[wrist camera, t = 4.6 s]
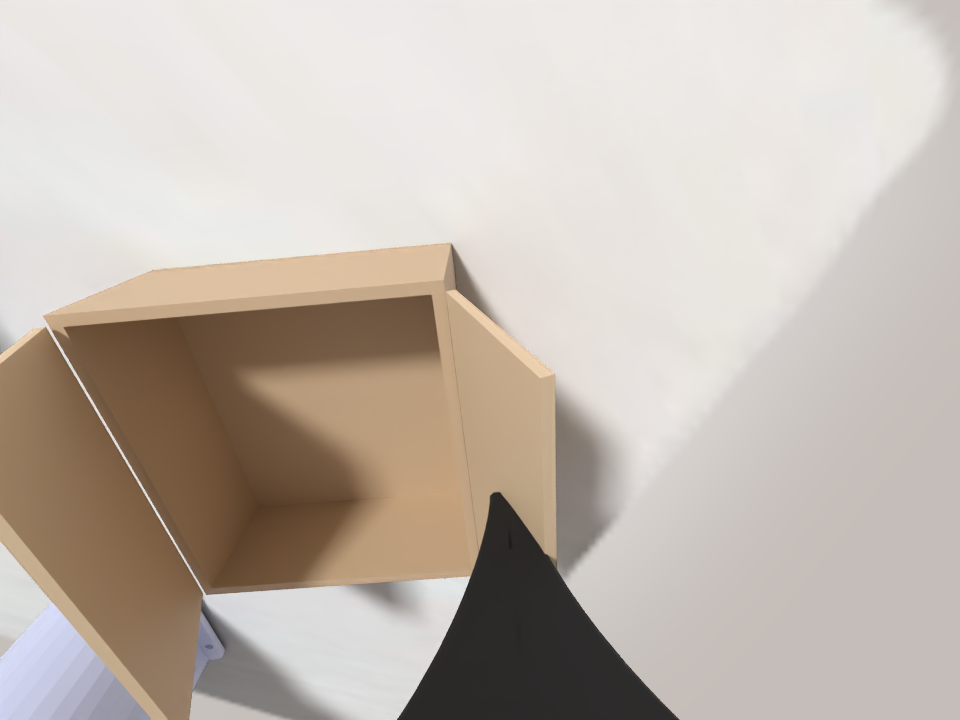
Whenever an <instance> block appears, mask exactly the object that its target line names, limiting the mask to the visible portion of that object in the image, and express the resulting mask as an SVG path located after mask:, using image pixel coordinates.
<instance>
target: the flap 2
mask: <svg viewBox="0 0 960 720" xmlns="http://www.w3.org/2000/svg"><path fill="white" fill-rule="evenodd" d="M446 298H447V306H448V314H449V321H450V329H451V337H452V345H453V353H454V360H455V368H456V376H457V384H458V392H459V400H460V407H461V415H462V423H463V431H464V439H465V446H466V454H467V462H468V470H469V478H470V486H471V493H472V501H473V509H474V517H475V525H476V533H477V540H478V548H479V550H480V546H481V543H482V539H483V536H484V532H485V527H486V523H487V518H488V512H489V504H490V495H491V494H492V493H493V492H500V493H501V494H502V495H503V497H504V498H505V499H506V500H507V501H508V503H509V504H510V505H511V506H512V508H513V509H514V510H515V512H516V513H517V514H518V516H519V517H520V519H521V520H522V521H523V523H524V524H525V526H526V527H527V528H528V530H529V531H530V533H531V534H532V535H533V537H534V538H535V540H536V541H537V543H538V544H539V545H540V547H541V548H542V550H543V552H544V553H545V554H547V555H548V556H549V557H550V559H551V561H552V563H553V564H554V566H555V568H556V569H557V545H556V428H555V374H554V373H553V372H552V371H551V370H549V369H548V368H547V367H546V366H545V365H544V364H542V363H541V362H540V361H539V360H538V359H537V358H535V357H534V356H533V355H532V354H531V353H529V352H528V351H527V350H526V349H525V348H524V347H522V346H521V345H520V344H519V343H518V342H517V341H515V340H514V339H513V338H512V337H511V336H510V335H508V334H507V333H506V332H505V331H504V330H502V329H501V328H500V327H499V326H498V325H497V324H495V323H494V322H493V321H492V320H491V319H490V318H488V317H487V316H486V315H485V314H484V313H482V312H481V311H480V310H479V309H478V308H477V307H475V306H474V305H473V304H472V303H471V302H470V301H468V300H467V299H466V298H465V297H464V296H462V295H461V294H460V293H459V292H458V291H457V290H451V291H446Z"/></svg>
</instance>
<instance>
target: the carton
mask: <svg viewBox="0 0 960 720" xmlns="http://www.w3.org/2000/svg"><path fill="white" fill-rule="evenodd" d="M451 290H457V289H456V280H455V272H454V263H453V254H452V246H451V243H446V244H435V245H424V246H413V247H402V248H391V249H380V250H369V251H358V252H347V253H336V254H325V255H314V256H304V257H293V258H282V259H271V260H260V261H249V262H238V263H227V264H216V265H205V266H194V267H183V268H172V269H161V270H153V271H150V272H148V273H145V274H143V275H140V276H138V277H136V278H133V279H131V280H128V281H126V282H124V283H121V284H119V285H116V286H114V287H111V288H109V289H107V290H104V291H102V292H99V293H97V294H94V295H92V296H90V297H87V298H85V299H82V300H80V301H77V302H75V303H73V304H70V305H68V306H65V307H63V308H61V309H58V310H56V311H53V312H51V313H48V314H46V315H44V316H43V317H44V318H45V320H46V322H47V324H48V325H49V327H50V329H51V330H52V332H53V334H54V335H55V337H56V339H57V341H58V342H59V344H60V346H61V347H62V349H63V351H64V353H65V354H66V356H67V358H68V359H69V361H70V363H71V364H72V366H73V368H74V370H75V371H76V373H77V375H78V376H79V378H80V380H81V382H82V383H83V385H84V387H85V388H86V390H87V392H88V394H89V395H90V397H91V399H92V400H93V402H94V404H95V405H96V407H97V409H98V411H99V412H100V414H101V416H102V417H103V419H104V421H105V423H106V424H107V426H108V428H109V429H110V431H111V433H112V435H113V436H114V438H115V440H116V441H117V443H118V445H119V446H120V448H121V450H122V452H123V453H124V455H125V457H126V458H127V460H128V462H129V464H130V465H131V467H132V469H133V470H134V472H135V474H136V475H137V477H138V479H139V481H140V482H141V484H142V486H143V487H144V489H145V491H146V493H147V494H148V496H149V498H150V499H151V501H152V503H153V505H154V506H155V508H156V510H157V511H158V513H159V515H160V516H161V518H162V520H163V522H164V523H165V525H166V527H167V528H168V530H169V532H170V534H171V535H172V537H173V539H174V540H175V542H176V544H177V546H178V547H179V549H180V551H181V552H182V554H183V556H184V557H185V559H186V561H187V563H188V564H189V566H190V568H191V569H192V571H193V573H194V575H195V576H196V578H197V580H198V581H199V583H200V585H201V586H202V588H203V590H204V592H205V593H206V595H210V594H225V593H239V592H253V591H267V590H281V589H295V588H310V587H324V586H338V585H352V584H366V583H380V582H395V581H409V580H423V579H437V578H451V577H465V576H471V574H472V571H473V569H474V566H475V563H476V560H477V557H478V553H479V548H478V540H477V533H476V525H475V517H474V509H473V501H472V493H471V486H470V478H469V470H468V462H467V454H466V446H465V439H464V431H463V423H462V415H461V407H460V400H459V392H458V384H457V376H456V368H455V360H454V353H453V345H452V337H451V329H450V321H449V314H448V306H447V298H446V291H451Z"/></svg>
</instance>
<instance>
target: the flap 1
mask: <svg viewBox="0 0 960 720" xmlns="http://www.w3.org/2000/svg"><path fill="white" fill-rule="evenodd" d="M0 541H1V542H2V544H3V545H4V546H5V547H6V548H7V549H8V551H9V552H10V553H11V554H12V555H13V557H14V558H15V559H16V560H17V561H18V562H19V564H20V565H21V566H22V567H23V568H24V570H25V571H26V572H27V573H28V574H29V575H30V577H31V578H32V579H33V580H34V581H35V582H36V584H37V585H38V586H39V587H40V588H41V590H42V591H43V592H44V593H45V594H46V595H47V597H48V598H49V599H50V600H51V601H52V602H53V604H54V605H55V606H56V607H57V608H58V610H59V611H60V612H61V613H62V614H63V615H64V617H65V618H66V619H67V620H68V621H69V622H70V624H71V625H72V626H73V627H74V628H75V630H76V631H77V632H78V633H79V634H80V635H81V637H82V638H83V639H84V640H85V641H86V642H87V644H88V645H89V646H90V647H91V648H92V650H93V651H94V652H95V653H96V654H97V655H98V657H99V658H100V659H101V660H102V661H103V663H104V664H105V665H106V666H107V667H108V668H109V670H110V671H111V672H112V673H113V674H114V675H115V677H116V678H117V679H118V680H119V681H120V683H121V684H122V685H123V686H124V687H125V688H126V690H127V691H128V692H129V693H130V694H131V695H132V697H133V698H134V699H135V700H136V701H137V703H138V704H139V705H140V706H141V707H142V708H143V710H144V711H145V712H146V713H147V714H148V715H149V717H150V718H151V719H152V720H189V715H190V707H191V698H192V689H193V680H194V670H195V661H196V652H197V643H198V634H199V625H200V615H201V606H202V597H203V593H202V591H201V589H200V588H199V586H198V584H197V582H196V581H195V579H194V577H193V576H192V574H191V572H190V571H189V569H188V567H187V566H186V564H185V562H184V560H183V559H182V557H181V555H180V554H179V552H178V550H177V549H176V547H175V545H174V543H173V542H172V540H171V538H170V537H169V535H168V533H167V532H166V530H165V528H164V527H163V525H162V523H161V521H160V520H159V518H158V516H157V515H156V513H155V511H154V510H153V508H152V506H151V504H150V503H149V501H148V499H147V498H146V496H145V494H144V493H143V491H142V489H141V488H140V486H139V484H138V482H137V481H136V479H135V477H134V476H133V474H132V472H131V471H130V469H129V467H128V465H127V464H126V462H125V460H124V459H123V457H122V455H121V454H120V452H119V450H118V449H117V447H116V445H115V443H114V442H113V440H112V438H111V437H110V435H109V433H108V432H107V430H106V428H105V426H104V425H103V423H102V421H101V420H100V418H99V416H98V415H97V413H96V411H95V410H94V408H93V406H92V404H91V403H90V401H89V399H88V398H87V396H86V394H85V393H84V391H83V389H82V388H81V386H80V384H79V382H78V381H77V379H76V377H75V376H74V374H73V372H72V371H71V369H70V367H69V365H68V364H67V362H66V360H65V359H64V357H63V355H62V354H61V352H60V350H59V349H58V347H57V345H56V343H55V342H54V340H53V338H52V337H51V335H50V333H49V332H48V330H47V328H46V327H42V328H37V329H33V330H31V331H30V332H29V333H27V334H26V335H25V336H24V337H22V338H21V339H20V340H18V341H17V342H16V343H15V344H13V345H12V346H11V347H9V348H8V349H7V350H6V351H4V352H3V353H2V354H0Z"/></svg>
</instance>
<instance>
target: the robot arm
mask: <svg viewBox="0 0 960 720" xmlns="http://www.w3.org/2000/svg"><path fill="white" fill-rule="evenodd" d="M35 583H36V582H35ZM46 596H47V595H46ZM224 653H225V649H224V647H223V646H222V644H221V642H220V641H219V639H218V638H217V636H216V634H215V633H214V631H213V629H212V628H211V626H210V624H209V623H208V621H207V619H206V618H205V616H204V615H203V613H202V611H201V615H200V625H199V634H198V643H197V652H196V661H195V670H194V680H193V689H192V692H193V690H194V688H195V686H196V684H197V682H198V680H199V678H200V676H201V674H202V672H203V670H204V668H205V666H206V664H207V662H208V660H218V659H221V658H222V657H223V655H224ZM0 720H152V719H151V718H150V717H149V715H148V714H147V713H146V712H145V711H144V710H143V708H142V707H141V706H140V705H139V704H138V703H137V701H136V700H135V699H134V698H133V697H132V695H131V694H130V693H129V692H128V691H127V690H126V688H125V687H124V686H123V685H122V684H121V683H120V681H119V680H118V679H117V678H116V677H115V675H114V674H113V673H112V672H111V671H110V670H109V668H108V667H107V666H106V665H105V664H104V663H103V661H102V660H101V659H100V658H99V657H98V655H97V654H96V653H95V652H94V651H93V650H92V648H91V647H90V646H89V645H88V644H87V642H86V641H85V640H84V639H83V638H82V637H81V635H80V634H79V633H78V632H77V631H76V630H75V628H74V627H73V626H72V625H71V624H70V622H69V621H68V620H67V619H66V618H65V617H64V615H63V614H62V613H61V612H60V611H59V610H58V608H57V607H56V606H55V605H54V604H53V602H51V603H50V604H49V605H48V606H47V608H46V609H45V610H44V611H43V612H42V613H41V614H40V615H39V616H38V617H37V619H36V620H35V621H34V622H33V623H32V624H31V625H30V626H29V627H28V628H27V630H26V631H25V632H24V633H23V634H22V635H21V636H20V637H19V638H18V639H17V641H16V642H15V643H14V644H13V645H12V646H11V647H10V649H9V650H7V652H6V653H5V654H4V655H3V656H2V657H1V658H0ZM397 720H679V719H678V718H677V717H676V716H675V715H674V714H673V713H672V712H671V711H670V710H669V709H668V708H667V707H666V706H665V705H664V704H663V703H662V702H661V701H660V700H659V699H658V698H657V696H656V695H654V693H653V692H652V691H651V690H650V689H649V688H648V687H647V686H646V685H645V684H644V683H643V682H642V681H641V679H640V678H639V677H638V676H637V675H636V674H635V673H634V672H633V671H632V669H631V668H630V667H629V666H628V665H627V664H626V663H625V662H624V660H623V659H622V658H621V657H620V655H619V654H618V653H617V652H616V651H615V649H614V648H613V647H612V646H611V645H610V643H609V642H608V641H607V640H606V639H605V637H604V636H603V635H602V634H601V633H600V632H599V630H598V629H597V627H596V626H595V625H594V623H593V622H592V621H591V620H590V618H589V617H588V615H587V614H586V613H585V611H584V610H583V609H582V607H581V606H580V604H579V603H578V602H577V600H576V599H575V597H574V596H573V595H572V593H571V592H570V590H569V589H568V587H567V585H566V584H565V582H564V581H563V579H562V577H561V576H560V574H559V573H558V571H557V569H556V568H555V566H554V564H553V563H552V561H551V559H550V557H549V556H548V555H547V554H545V553H544V552H543V550H542V548H541V547H540V545H539V544H538V543H537V541H536V540H535V538H534V537H533V535H532V534H531V533H530V531H529V530H528V528H527V527H526V526H525V524H524V523H523V521H522V520H521V519H520V517H519V516H518V514H517V513H516V512H515V510H514V509H513V508H512V506H511V505H510V504H509V503H508V501H507V500H506V499H505V498H504V497H503V495H502V494H501V493H500V492H493V493H492V494H491V495H490V504H489V512H488V518H487V523H486V527H485V532H484V536H483V539H482V543H481V546H480V550H479V553H478V557H477V560H476V563H475V566H474V569H473V571H472V574H471V577H470V580H469V583H468V586H467V588H466V591H465V593H464V596H463V598H462V601H461V603H460V605H459V608H458V610H457V612H456V615H455V617H454V619H453V621H452V623H451V625H450V627H449V629H448V632H447V634H446V636H445V638H444V640H443V642H442V644H441V646H440V648H439V650H438V652H437V654H436V655H435V657H434V659H433V661H432V663H431V665H430V666H429V668H428V670H427V672H426V673H425V675H424V677H423V679H422V680H421V682H420V684H419V686H418V687H417V689H416V691H415V693H414V694H413V696H412V697H411V699H410V701H409V702H408V704H407V705H406V707H405V709H404V710H403V712H402V713H401V715H400V716H399V718H398V719H397Z"/></svg>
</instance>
